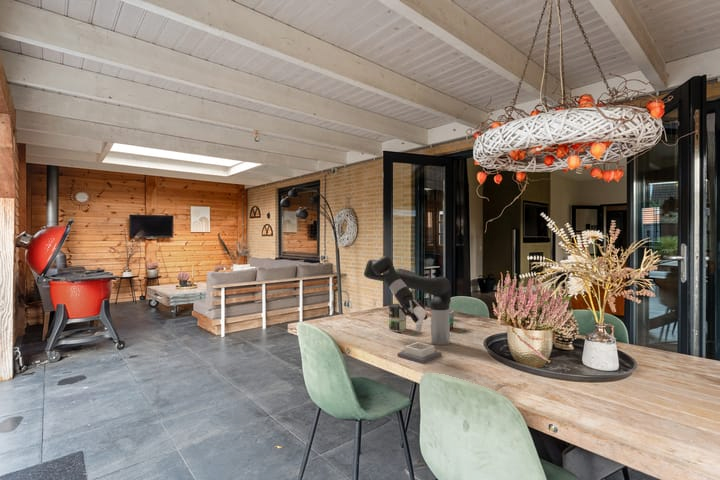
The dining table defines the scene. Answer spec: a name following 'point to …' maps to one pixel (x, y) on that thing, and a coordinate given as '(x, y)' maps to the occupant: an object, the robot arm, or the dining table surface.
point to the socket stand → (419, 352)
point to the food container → (451, 318)
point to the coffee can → (396, 318)
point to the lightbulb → (419, 316)
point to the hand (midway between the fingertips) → (421, 319)
